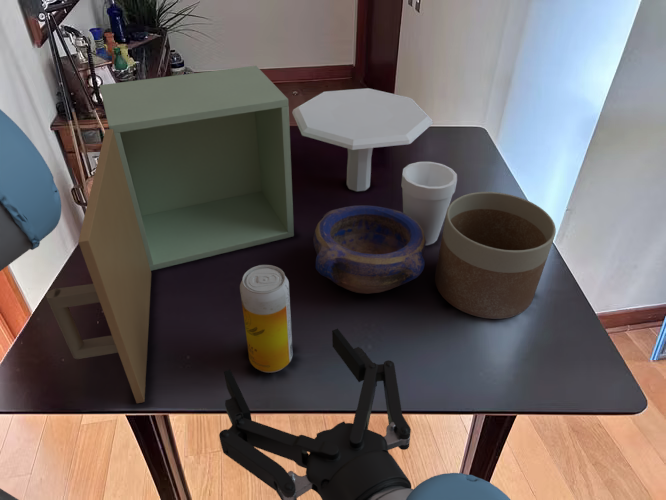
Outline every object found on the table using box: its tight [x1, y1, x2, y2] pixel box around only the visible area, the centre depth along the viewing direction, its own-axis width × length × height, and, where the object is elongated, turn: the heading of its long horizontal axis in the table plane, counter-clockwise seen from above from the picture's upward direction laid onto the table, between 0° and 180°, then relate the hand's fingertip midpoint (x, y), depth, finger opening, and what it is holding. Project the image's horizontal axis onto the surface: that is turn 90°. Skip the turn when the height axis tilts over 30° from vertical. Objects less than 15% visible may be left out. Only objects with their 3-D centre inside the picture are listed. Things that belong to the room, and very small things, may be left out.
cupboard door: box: [45, 128, 152, 404], centre depth 68 cm, size 7×26×26 cm, turn 14°
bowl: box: [312, 204, 426, 295], centre depth 84 cm, size 18×18×10 cm
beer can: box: [239, 264, 294, 374], centre depth 68 cm, size 6×6×15 cm
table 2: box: [291, 87, 434, 192], centre depth 106 cm, size 28×28×17 cm
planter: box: [434, 191, 557, 320], centre depth 81 cm, size 16×16×14 cm
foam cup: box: [400, 161, 458, 246], centre depth 93 cm, size 10×9×13 cm
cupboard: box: [99, 65, 295, 272], centre depth 90 cm, size 17×26×26 cm, turn 114°
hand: (283, 357), depth 61 cm, fingers open, 13 cm apart
